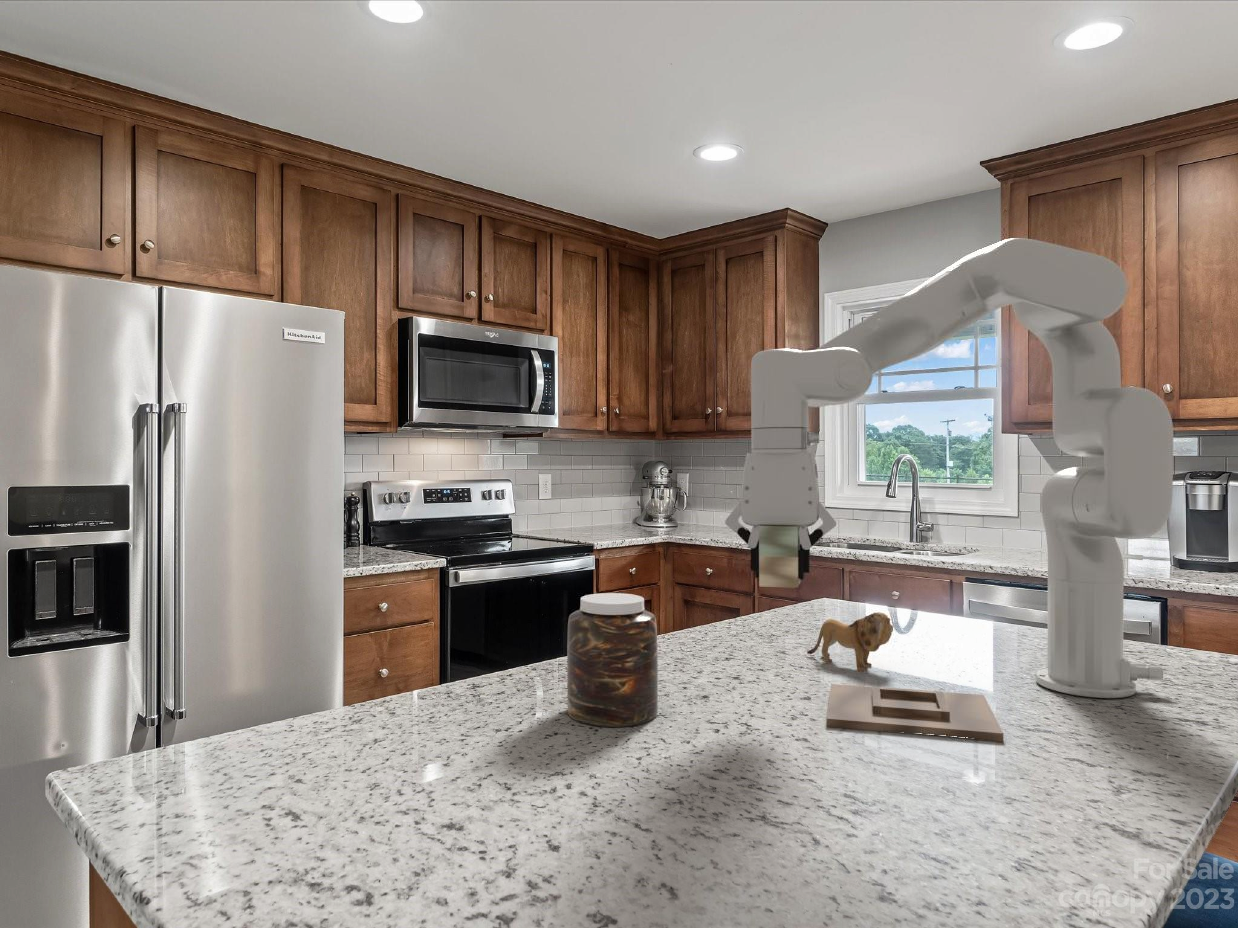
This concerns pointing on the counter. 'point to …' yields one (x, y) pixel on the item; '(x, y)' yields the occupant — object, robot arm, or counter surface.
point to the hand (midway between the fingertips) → (780, 576)
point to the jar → (612, 661)
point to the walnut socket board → (912, 712)
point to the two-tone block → (778, 556)
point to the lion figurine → (856, 637)
